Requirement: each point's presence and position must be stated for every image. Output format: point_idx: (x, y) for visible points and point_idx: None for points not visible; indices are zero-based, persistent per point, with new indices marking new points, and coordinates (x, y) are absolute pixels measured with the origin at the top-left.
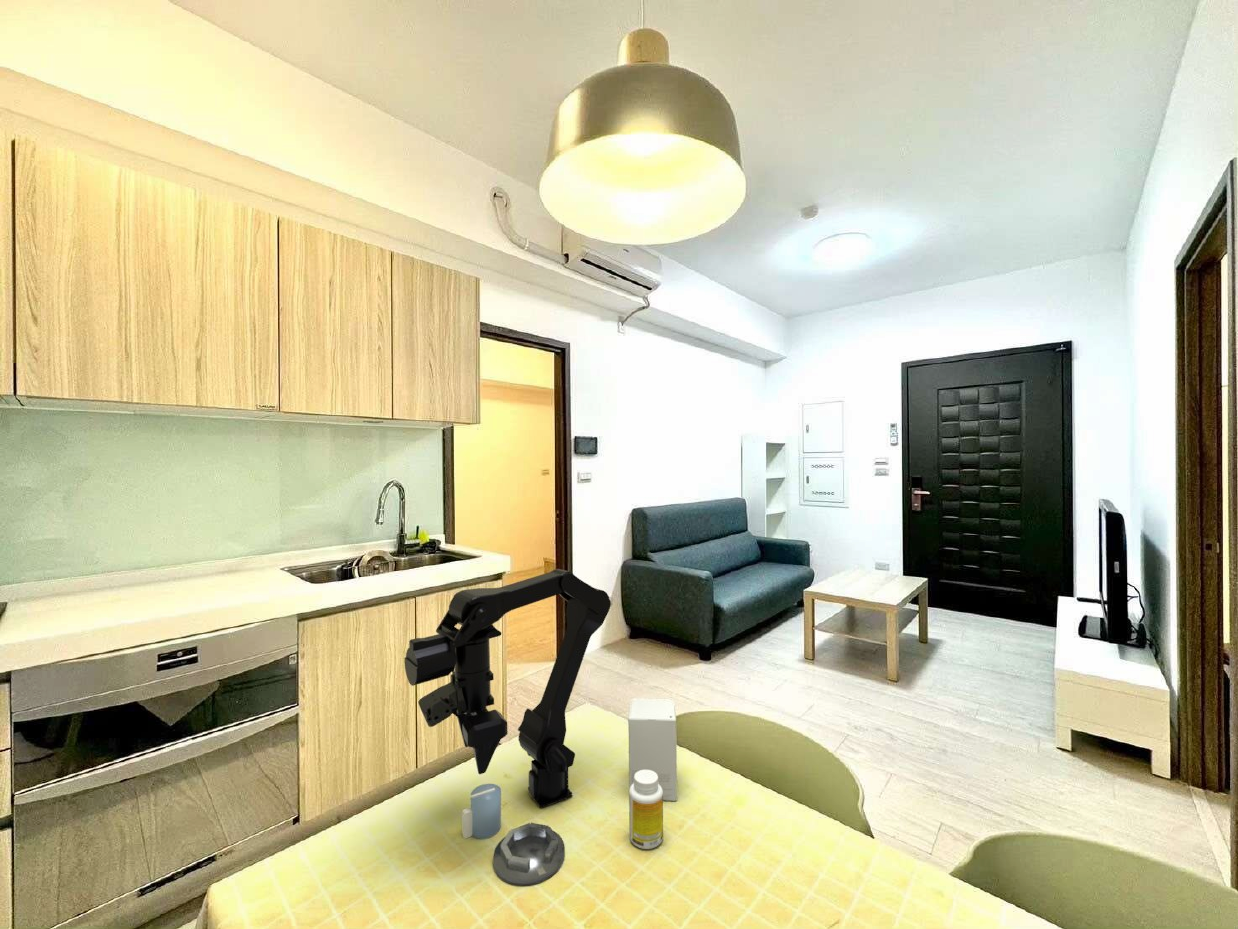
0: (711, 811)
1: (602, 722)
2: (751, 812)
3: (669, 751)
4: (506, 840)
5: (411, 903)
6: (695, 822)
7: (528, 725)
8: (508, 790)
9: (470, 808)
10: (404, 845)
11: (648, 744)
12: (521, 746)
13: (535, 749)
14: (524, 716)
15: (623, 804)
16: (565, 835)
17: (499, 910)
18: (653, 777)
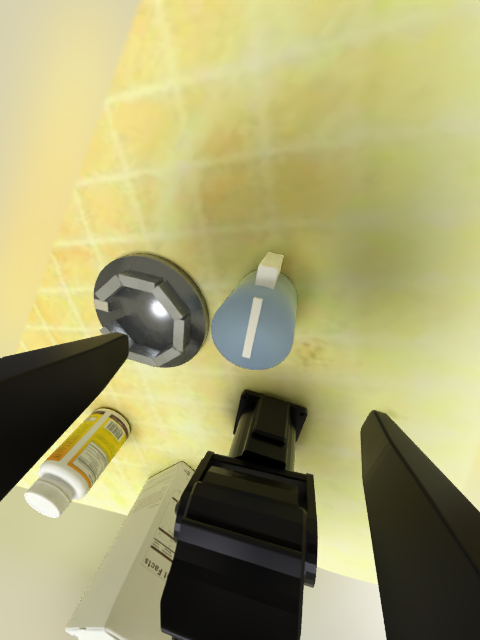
0: (118, 480)
1: (370, 571)
2: (101, 491)
3: (109, 553)
4: (162, 299)
5: (159, 66)
6: (112, 462)
7: (252, 584)
8: (338, 388)
9: (269, 287)
10: (362, 110)
11: (117, 562)
12: (292, 493)
13: (198, 499)
14: (292, 628)
15: (178, 451)
16: (167, 373)
17: (78, 220)
18: (35, 507)
